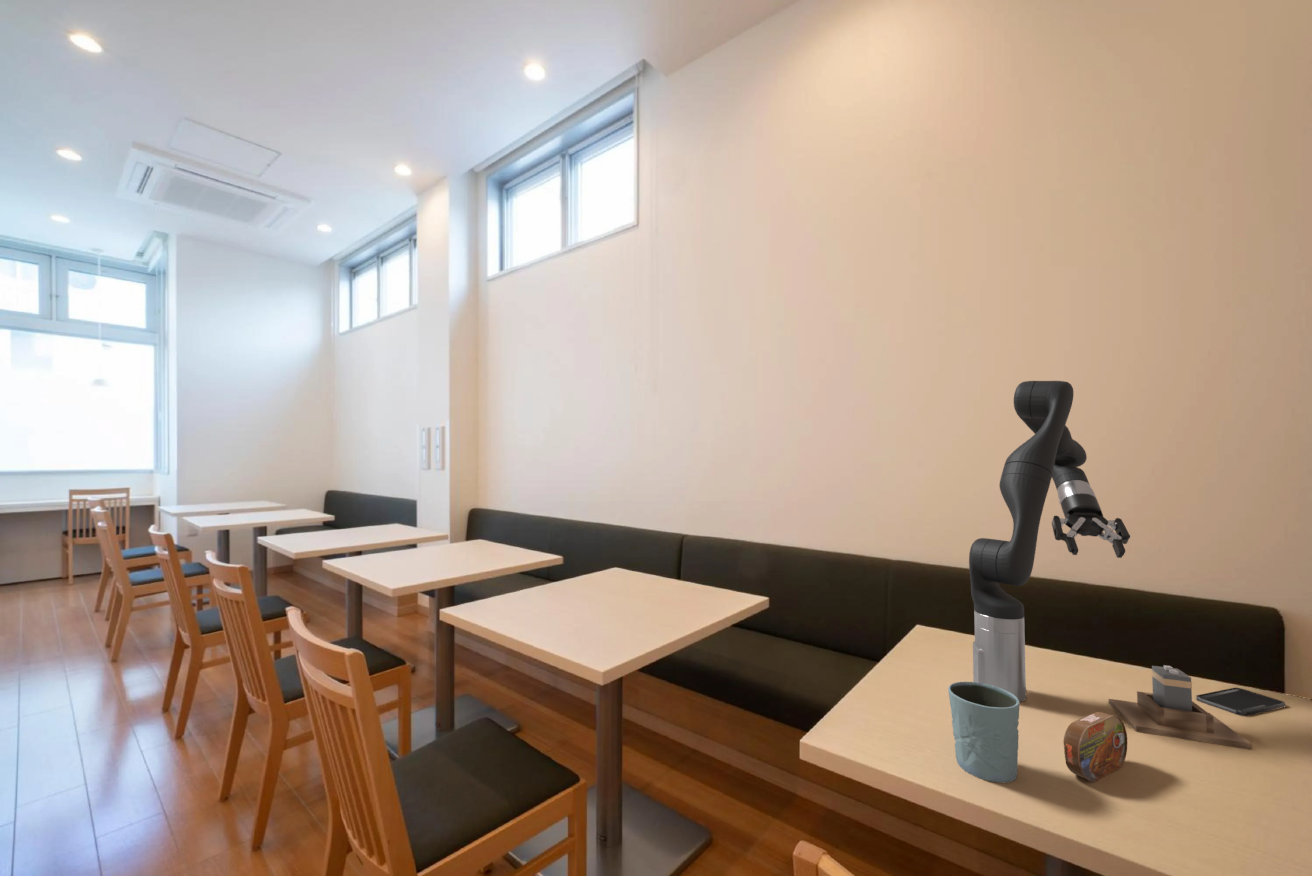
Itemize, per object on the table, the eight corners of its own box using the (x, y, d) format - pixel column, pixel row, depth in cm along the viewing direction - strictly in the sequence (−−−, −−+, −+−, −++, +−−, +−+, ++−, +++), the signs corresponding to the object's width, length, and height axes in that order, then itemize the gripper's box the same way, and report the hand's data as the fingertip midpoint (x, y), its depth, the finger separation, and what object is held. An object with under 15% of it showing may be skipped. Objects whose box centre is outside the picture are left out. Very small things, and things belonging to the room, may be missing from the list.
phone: (1193, 696, 112) (1237, 687, 116) (1193, 701, 111) (1237, 692, 116) (1244, 713, 104) (1288, 703, 108) (1244, 719, 104) (1289, 708, 108)
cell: (1165, 722, 100) (1163, 671, 100) (1152, 711, 104) (1151, 662, 104) (1193, 726, 98) (1191, 674, 99) (1179, 715, 102) (1178, 665, 103)
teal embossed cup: (1023, 793, 80) (1021, 714, 80) (947, 772, 85) (946, 697, 86) (1019, 761, 89) (1017, 689, 89) (950, 743, 94) (949, 675, 94)
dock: (1136, 731, 98) (1135, 709, 99) (1108, 703, 109) (1108, 684, 110) (1251, 749, 92) (1250, 726, 93) (1209, 718, 104) (1208, 697, 104)
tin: (1082, 788, 81) (1081, 733, 82) (1060, 777, 84) (1058, 724, 85) (1130, 763, 88) (1129, 712, 88) (1107, 754, 91) (1106, 704, 91)
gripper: (1048, 491, 135) (1064, 543, 124) (1117, 493, 130) (1141, 547, 119) (1042, 510, 140) (1057, 561, 129) (1108, 512, 134) (1131, 566, 123)
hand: (1097, 554), depth 124 cm, fingers open, 8 cm apart
